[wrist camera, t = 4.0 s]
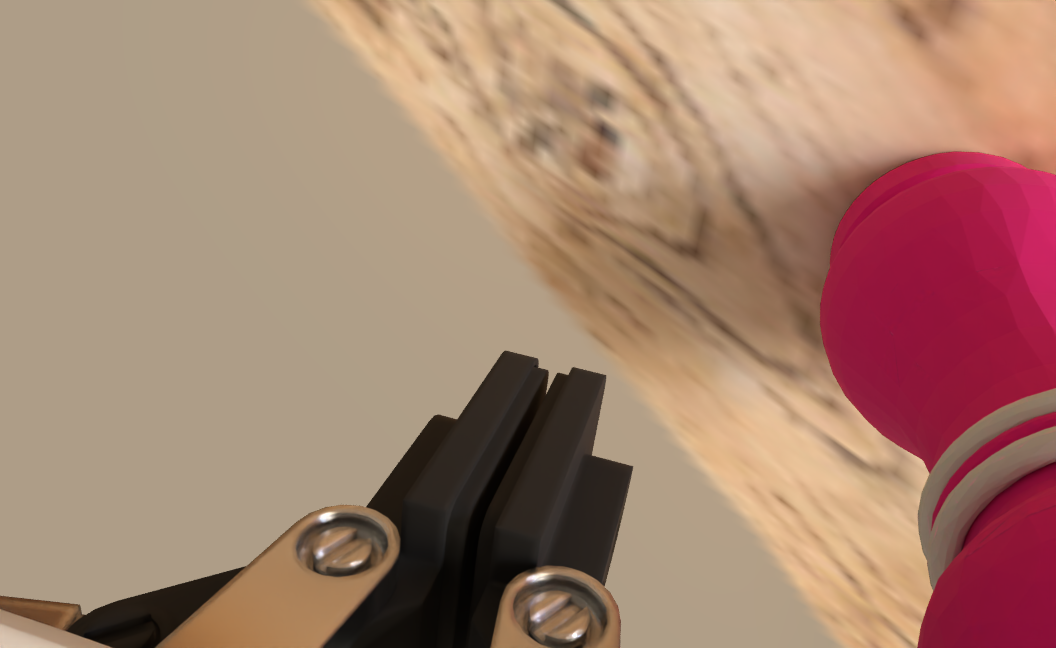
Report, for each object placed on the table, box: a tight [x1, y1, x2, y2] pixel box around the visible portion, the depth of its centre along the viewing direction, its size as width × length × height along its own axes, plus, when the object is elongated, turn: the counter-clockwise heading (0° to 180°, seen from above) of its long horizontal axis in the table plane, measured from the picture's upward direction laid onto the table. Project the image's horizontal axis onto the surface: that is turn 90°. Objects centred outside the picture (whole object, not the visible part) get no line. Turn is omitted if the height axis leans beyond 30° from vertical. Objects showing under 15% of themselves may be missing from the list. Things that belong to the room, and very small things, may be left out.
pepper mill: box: [820, 152, 1056, 648], centre depth 14 cm, size 7×7×20 cm
